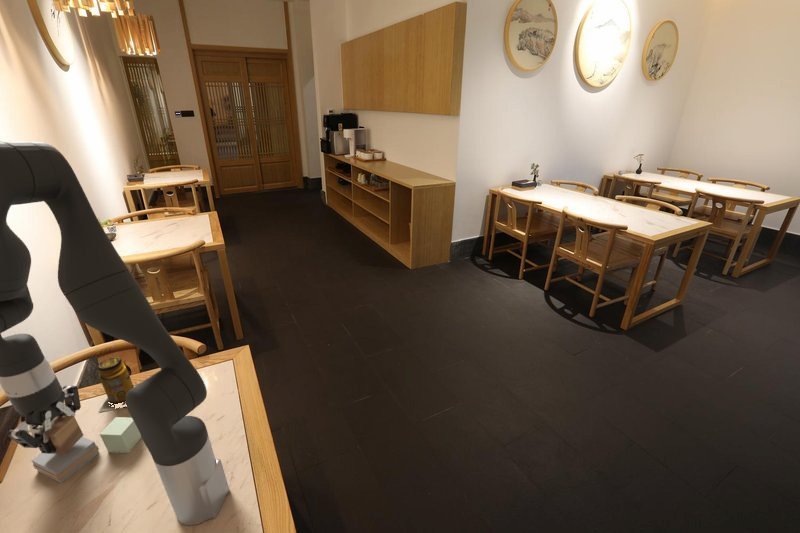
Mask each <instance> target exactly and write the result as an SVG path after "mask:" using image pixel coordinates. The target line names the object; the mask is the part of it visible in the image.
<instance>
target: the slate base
mask: <svg viewBox="0 0 800 533" xmlns="http://www.w3.org/2000/svg"><path fill="white" fill-rule="evenodd" d="M99 454H100V448H99V446H98V445H97V444H96V442H95V441H93V440H91V439H89V438H87V437H85V436H82V437H81V438H80V439H79V440H78V441H77V442H76V443H75V444H74V445H73V446H72V447H71V448H70V449H69V450H68V451H67V452H66V453H65V454H45V453H41V452H40V453H39V454H38V455H36V456H34V457H33V458H32V459H31V462H32V466H33V468H34V469H36V470H37V472H38V473H40V474H42V475H44V476H46V477H47V478H50V479H53V480H54V481H56V482H58V483H60V484H62V483H63V482H64V481H66V480H67V479H68V478H70V477H72V476H73V474H74V473H76V472H77V471H78V470H80V469H81V468H82V467H83V466H85V465H86V464H87V463H88V462H90V461H91V460H92V459H93V458H95V457H96V456H98V455H99Z"/></svg>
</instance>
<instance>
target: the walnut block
mask: <svg viewBox="0 0 800 533" xmlns="http://www.w3.org/2000/svg"><path fill="white" fill-rule="evenodd" d="M41 427H43V426H41ZM48 435H49V439H51V441H52V443H53V445H54V446H55V448H56V451H55V452H54V453H53V454H65V453H66V452H67V451H68V450H69V449H70V448H71V447H72V446H73V445H74V444H75V443H76V442H77V441H78V440H79V439H80V438H81V437H84V432H83V431H82V429H81V427H80V425H79V423H78V421H77V420H76V416H75V417H74V416H57V417H55V418H54V419H53V420H52V422H51V430H49V434H48ZM40 436H41V433H40ZM50 454H51V453H50Z"/></svg>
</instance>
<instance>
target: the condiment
mask: <svg viewBox="0 0 800 533" xmlns="http://www.w3.org/2000/svg"><path fill="white" fill-rule="evenodd" d="M96 368H97V370H98V378H99V381H100V384H101V385H102V387H103V390H104V391H105V394H106V396H107V397H106V399H105V401H104V402H103V404H102V405H101V407H100V408H99V409H98V413H99V412H100V413H101V412H107V411H108V412H109V411H115V410H116V409H117V410H120V409H122V408H120V407H119V409H118V408H116V409H115V405H114V404H118V403H122V402H125V401H126V395H127V393H128V392H129V390H131V389H132V388H134V386H135V385H134V384H133V381H132V379H131V376H130V373H129V371H128V369H127V367H126V365H125V364H124V363H123V360H122V358H121V357H118V356H114V357H113V356H112V357H107V358H105V359H103V360H101V362H99V363H98V365H97V367H96ZM108 402H110V403H113V404H112V405H114V407H111V406H112V405H111V404H109V403H108ZM109 405H110V406H109ZM125 407H126V406H125Z"/></svg>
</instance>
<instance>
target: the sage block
mask: <svg viewBox="0 0 800 533" xmlns="http://www.w3.org/2000/svg"><path fill="white" fill-rule="evenodd" d="M99 436H100V438H101V441H102V442H103V444H104V447H105V448H106V450H107V452H108V453H117V454H119V452H120V453H121V454H130V453H131V451H132V450H133V448H134V447H135V446H136V445H137V444H138V443H139V441H140V440H139V439H142V437H141V434H140V432H139V430H138V428H137V426H136V424H135V423H134V421H133V419H132V417H125V416H124V417H123V416H121V417H120V416H119V417H118V416H116V417H114V419H112V420H111V421H110V423H109V424H108V425H107V426H106V427H105V428H104V429H103V430H102V431H101V432H100V433H99ZM131 449H132V450H131Z"/></svg>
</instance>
